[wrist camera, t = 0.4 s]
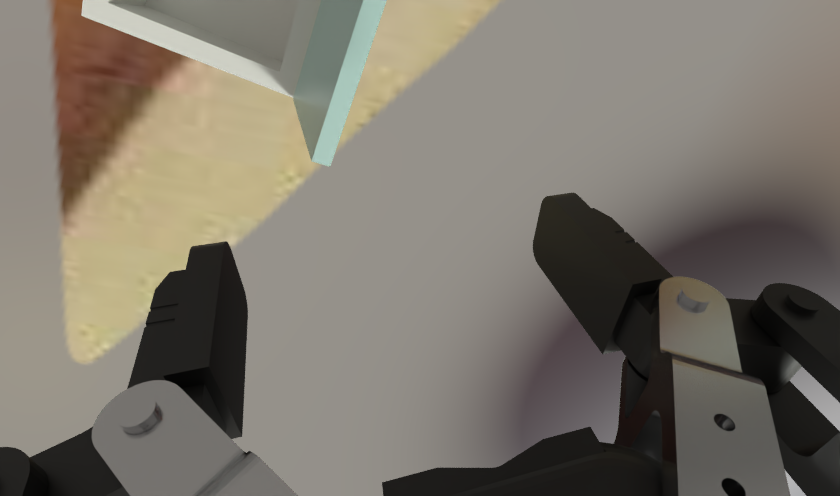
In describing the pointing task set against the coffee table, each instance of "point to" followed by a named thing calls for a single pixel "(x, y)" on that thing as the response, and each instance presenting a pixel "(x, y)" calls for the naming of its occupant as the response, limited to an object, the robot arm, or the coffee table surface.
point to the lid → (333, 71)
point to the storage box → (222, 33)
